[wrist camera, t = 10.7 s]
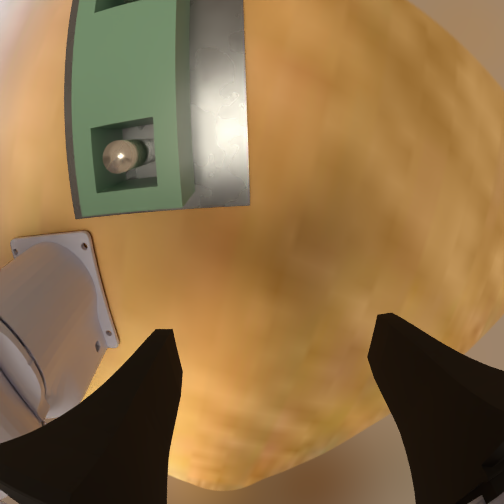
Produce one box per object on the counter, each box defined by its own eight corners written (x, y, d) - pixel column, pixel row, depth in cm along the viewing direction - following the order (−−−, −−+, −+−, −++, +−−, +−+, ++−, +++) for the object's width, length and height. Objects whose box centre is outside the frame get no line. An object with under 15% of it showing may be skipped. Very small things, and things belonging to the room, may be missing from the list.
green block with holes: (195, 191, 16) (182, 207, 12) (113, 198, 16) (82, 216, 12) (191, -27, 11) (181, -61, 7) (112, -11, 10) (87, -37, 7)
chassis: (249, 201, 17) (255, 230, 12) (82, 215, 17) (35, 245, 12) (241, -34, 11) (243, -83, 6) (80, -3, 11) (40, -32, 6)
